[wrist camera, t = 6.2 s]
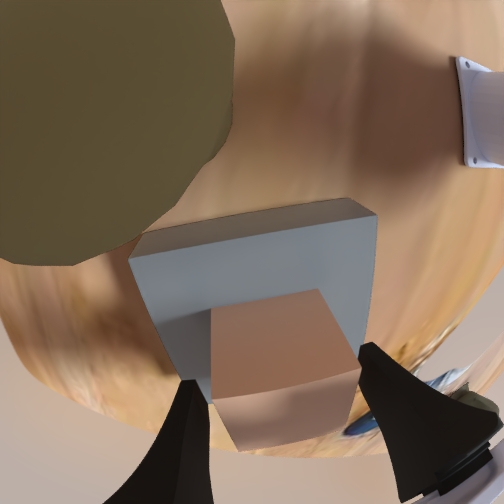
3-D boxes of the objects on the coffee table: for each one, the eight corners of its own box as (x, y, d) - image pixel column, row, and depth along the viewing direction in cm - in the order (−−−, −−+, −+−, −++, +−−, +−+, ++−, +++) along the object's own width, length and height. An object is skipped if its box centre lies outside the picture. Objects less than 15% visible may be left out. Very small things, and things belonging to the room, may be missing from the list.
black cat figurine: (431, 405, 30) (434, 419, 34) (461, 458, 19) (458, 463, 23) (478, 366, 28) (475, 387, 32) (513, 414, 17) (502, 428, 21)
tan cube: (316, 357, 15) (344, 428, 10) (231, 374, 14) (238, 451, 10) (317, 288, 12) (361, 367, 8) (211, 308, 12) (211, 399, 8)
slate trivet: (349, 197, 14) (377, 215, 11) (342, 343, 19) (357, 372, 16) (144, 232, 13) (127, 258, 11) (196, 372, 18) (195, 405, 15)
